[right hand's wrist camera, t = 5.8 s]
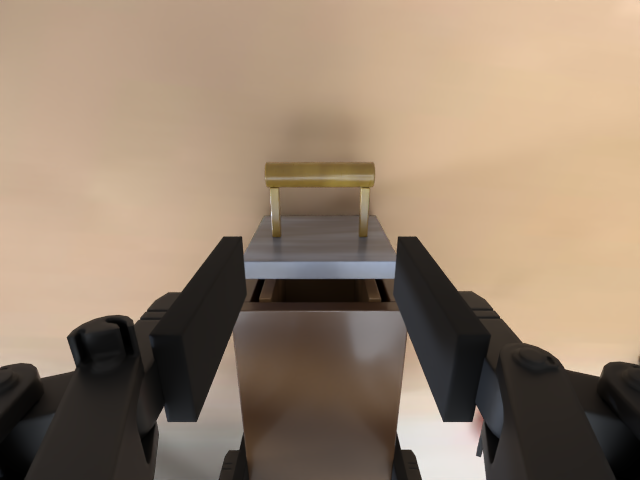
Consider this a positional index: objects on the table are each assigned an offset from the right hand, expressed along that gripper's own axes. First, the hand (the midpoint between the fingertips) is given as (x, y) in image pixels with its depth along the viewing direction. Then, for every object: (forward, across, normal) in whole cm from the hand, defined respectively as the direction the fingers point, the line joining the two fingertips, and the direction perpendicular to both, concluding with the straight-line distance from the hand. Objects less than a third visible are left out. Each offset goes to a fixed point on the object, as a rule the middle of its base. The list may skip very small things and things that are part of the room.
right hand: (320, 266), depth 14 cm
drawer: (+15, 0, -8) cm, 17 cm away
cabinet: (+16, 0, -14) cm, 22 cm away
